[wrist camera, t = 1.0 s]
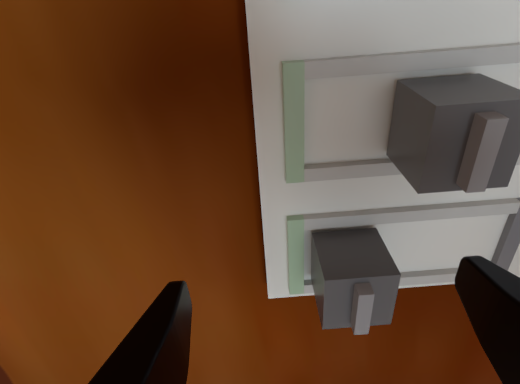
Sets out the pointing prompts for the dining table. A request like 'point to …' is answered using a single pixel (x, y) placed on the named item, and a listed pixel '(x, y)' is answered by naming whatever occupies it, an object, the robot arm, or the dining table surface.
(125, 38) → the dining table surface
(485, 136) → the toggle middle
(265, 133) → the breaker board
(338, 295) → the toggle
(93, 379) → the robot arm
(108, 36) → the dining table surface
